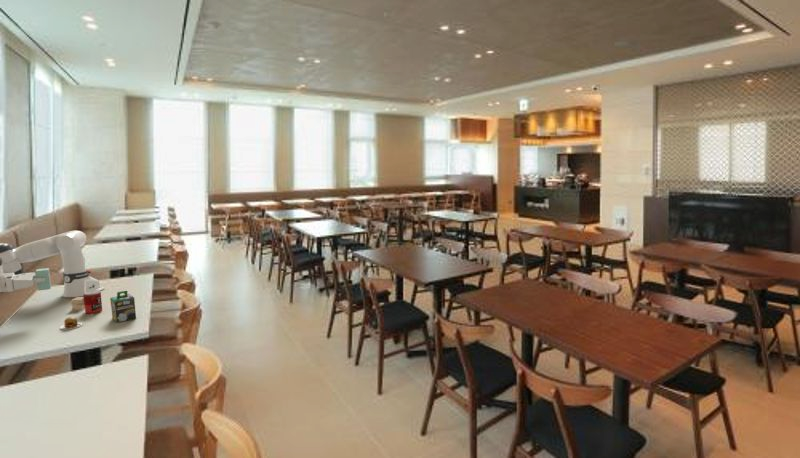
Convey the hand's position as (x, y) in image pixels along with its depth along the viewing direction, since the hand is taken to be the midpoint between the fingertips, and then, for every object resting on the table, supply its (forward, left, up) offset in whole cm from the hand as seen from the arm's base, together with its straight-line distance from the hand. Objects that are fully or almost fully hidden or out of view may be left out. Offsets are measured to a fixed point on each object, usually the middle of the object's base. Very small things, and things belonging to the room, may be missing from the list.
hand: (45, 277), depth 231 cm
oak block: (-17, 0, -22) cm, 28 cm away
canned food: (-14, +12, -22) cm, 29 cm away
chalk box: (-7, +37, -22) cm, 44 cm away
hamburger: (+8, +21, -23) cm, 32 cm away
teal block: (+1, -1, -6) cm, 6 cm away
